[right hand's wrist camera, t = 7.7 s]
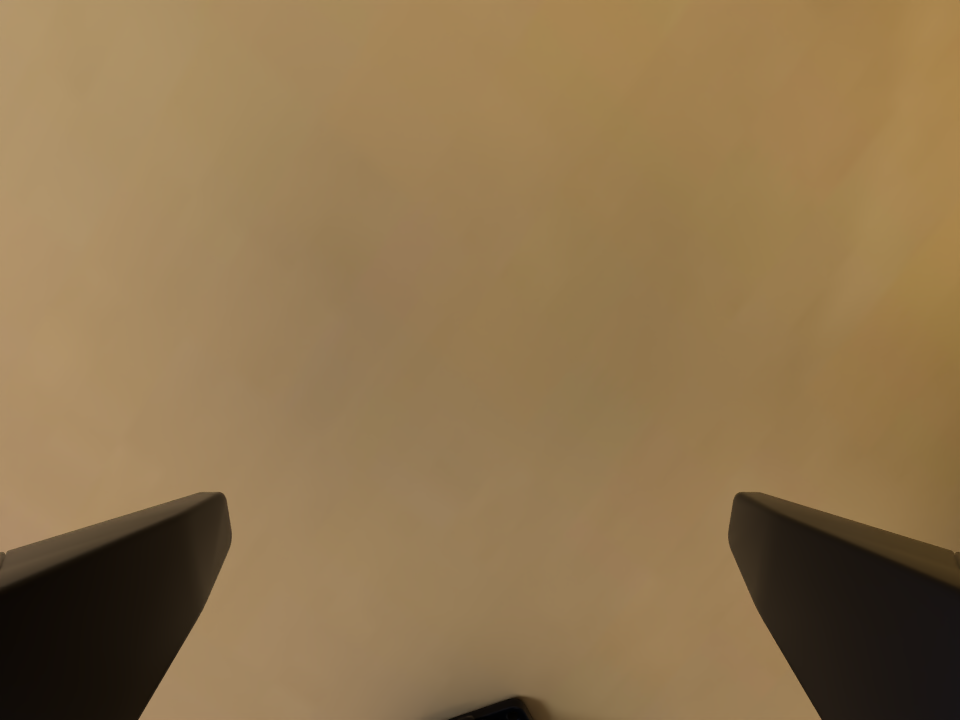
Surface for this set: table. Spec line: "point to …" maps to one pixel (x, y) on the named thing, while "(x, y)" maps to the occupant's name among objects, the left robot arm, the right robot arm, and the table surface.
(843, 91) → the table surface
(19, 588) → the right robot arm
